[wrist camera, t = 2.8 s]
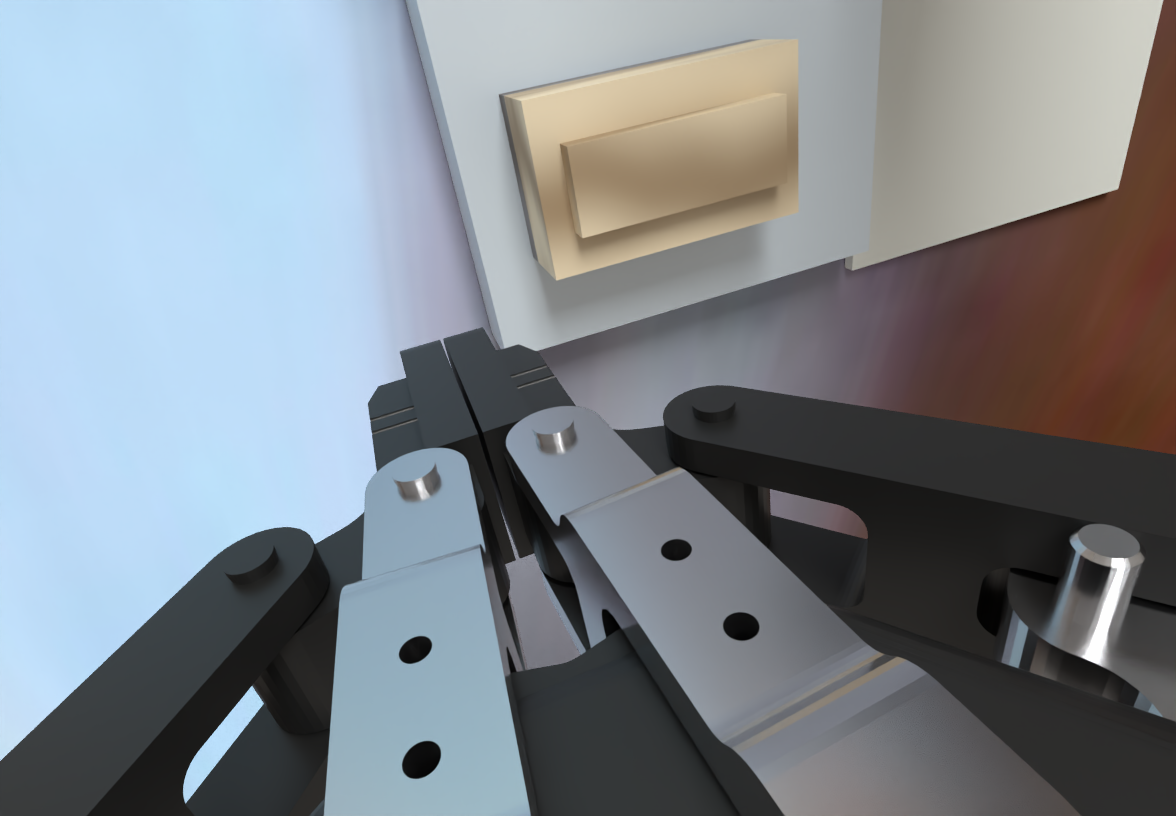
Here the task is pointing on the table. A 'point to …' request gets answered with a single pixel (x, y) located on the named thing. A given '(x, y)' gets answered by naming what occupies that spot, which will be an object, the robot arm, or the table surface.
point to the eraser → (656, 153)
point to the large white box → (618, 39)
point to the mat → (999, 112)
